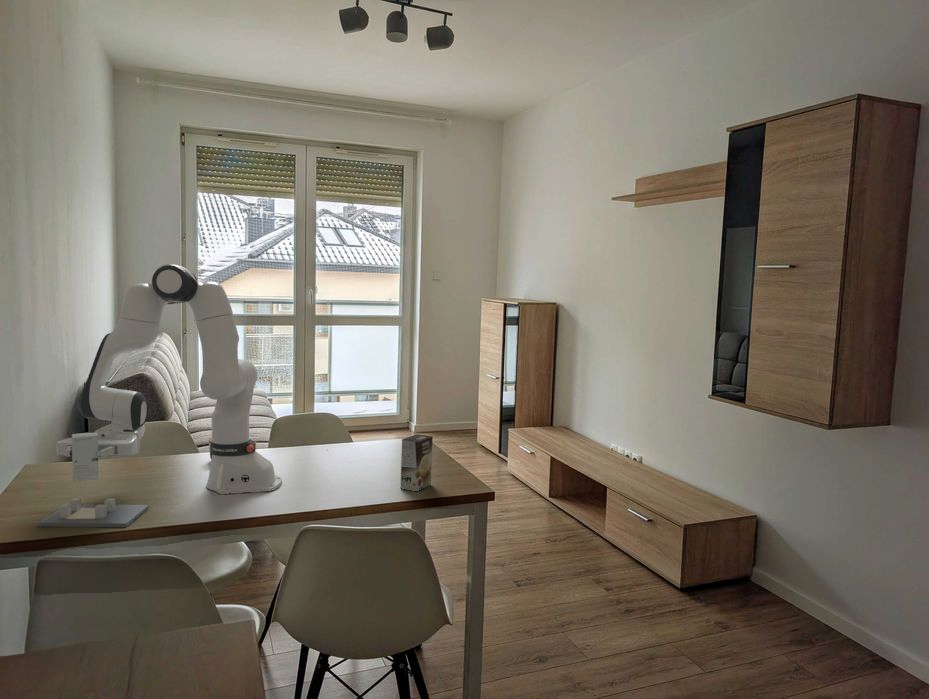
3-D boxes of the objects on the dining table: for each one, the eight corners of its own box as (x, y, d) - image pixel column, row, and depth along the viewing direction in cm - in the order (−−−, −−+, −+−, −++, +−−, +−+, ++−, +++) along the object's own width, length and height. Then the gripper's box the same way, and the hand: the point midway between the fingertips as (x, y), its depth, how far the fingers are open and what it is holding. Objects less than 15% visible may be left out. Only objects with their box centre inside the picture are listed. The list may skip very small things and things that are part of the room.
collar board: (149, 508, 183) (148, 494, 182) (126, 527, 169) (126, 512, 168) (67, 507, 181) (66, 493, 181) (37, 526, 167) (37, 511, 167)
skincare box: (72, 482, 172) (71, 437, 171) (72, 478, 176) (70, 433, 175) (99, 479, 176) (97, 434, 174) (98, 474, 180) (96, 431, 178)
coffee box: (417, 492, 204) (418, 441, 202) (399, 489, 207) (401, 439, 205) (431, 484, 212) (433, 436, 210) (414, 481, 215) (415, 433, 213)
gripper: (71, 430, 187) (42, 441, 174) (144, 431, 188) (121, 442, 175) (72, 451, 188) (43, 465, 174) (145, 452, 189) (122, 466, 175)
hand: (83, 454), depth 174 cm, fingers closed on skincare box, 7 cm apart
